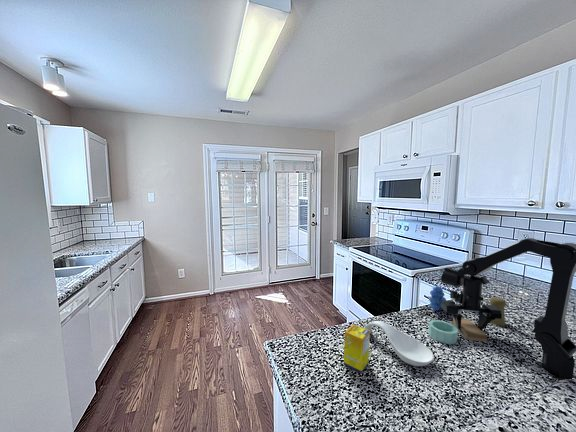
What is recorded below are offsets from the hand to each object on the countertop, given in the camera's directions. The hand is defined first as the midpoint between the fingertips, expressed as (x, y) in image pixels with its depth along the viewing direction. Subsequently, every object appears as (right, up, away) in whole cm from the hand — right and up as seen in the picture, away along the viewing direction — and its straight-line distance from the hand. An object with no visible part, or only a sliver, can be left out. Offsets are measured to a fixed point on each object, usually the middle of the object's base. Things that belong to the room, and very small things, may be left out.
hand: (468, 330), depth 94 cm
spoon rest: (-34, -2, -11) cm, 36 cm away
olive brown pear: (+17, -1, +8) cm, 19 cm away
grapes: (-1, 0, +18) cm, 18 cm away
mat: (0, -1, 0) cm, 1 cm away
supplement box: (-49, -2, -19) cm, 53 cm away
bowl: (-12, -1, -3) cm, 13 cm away
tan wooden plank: (0, -1, 0) cm, 0 cm away
